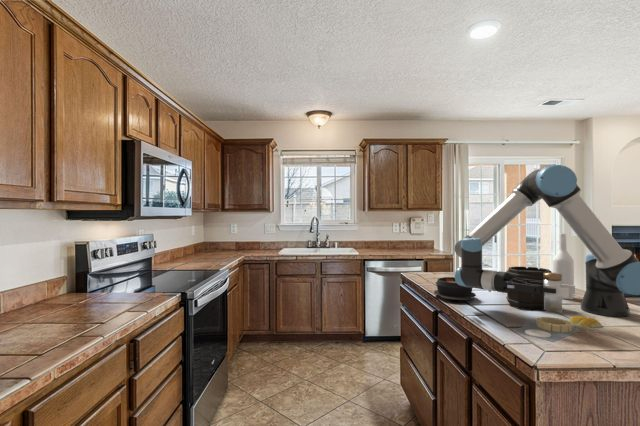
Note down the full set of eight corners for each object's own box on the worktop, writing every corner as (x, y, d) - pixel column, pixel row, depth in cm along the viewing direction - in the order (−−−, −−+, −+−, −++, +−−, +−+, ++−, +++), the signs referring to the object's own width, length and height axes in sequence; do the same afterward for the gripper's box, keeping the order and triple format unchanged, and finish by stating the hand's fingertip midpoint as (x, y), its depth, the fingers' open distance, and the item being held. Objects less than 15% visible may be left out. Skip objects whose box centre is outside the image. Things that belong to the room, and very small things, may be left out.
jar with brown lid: (556, 308, 118) (555, 272, 118) (565, 312, 113) (565, 274, 113) (541, 308, 118) (540, 272, 118) (549, 312, 113) (549, 275, 113)
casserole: (432, 290, 179) (432, 274, 179) (472, 293, 173) (471, 276, 173) (434, 302, 155) (434, 283, 155) (480, 305, 149) (480, 286, 149)
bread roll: (581, 323, 125) (581, 312, 125) (607, 331, 116) (606, 319, 116) (562, 325, 123) (562, 313, 123) (587, 333, 114) (587, 321, 114)
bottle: (556, 298, 161) (555, 233, 161) (550, 295, 168) (549, 232, 169) (577, 300, 158) (576, 234, 158) (569, 296, 166) (569, 233, 166)
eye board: (541, 324, 123) (541, 314, 123) (581, 334, 113) (581, 323, 113) (511, 335, 112) (511, 324, 112) (553, 347, 102) (553, 335, 102)
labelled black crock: (540, 301, 157) (540, 266, 157) (564, 312, 139) (563, 272, 139) (498, 300, 158) (498, 265, 159) (516, 311, 141) (516, 272, 141)
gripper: (508, 288, 135) (580, 298, 117) (485, 295, 124) (562, 308, 106) (507, 268, 135) (580, 276, 117) (485, 274, 124) (561, 283, 106)
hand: (571, 291), depth 111 cm, fingers closed on jar with brown lid, 5 cm apart
